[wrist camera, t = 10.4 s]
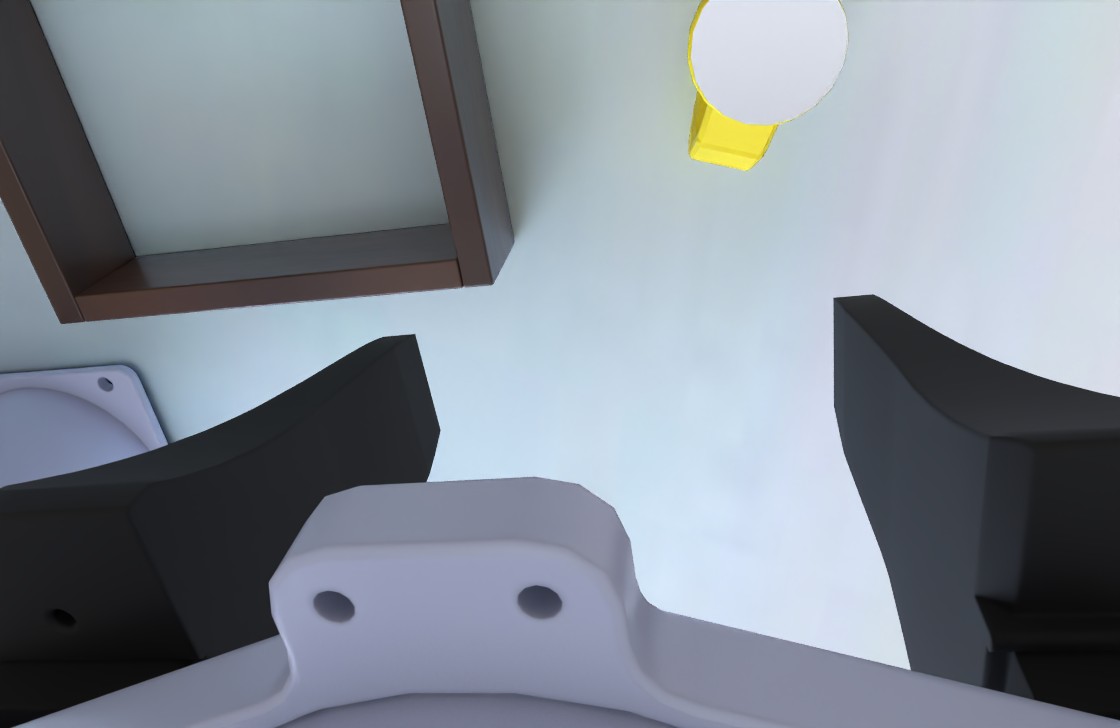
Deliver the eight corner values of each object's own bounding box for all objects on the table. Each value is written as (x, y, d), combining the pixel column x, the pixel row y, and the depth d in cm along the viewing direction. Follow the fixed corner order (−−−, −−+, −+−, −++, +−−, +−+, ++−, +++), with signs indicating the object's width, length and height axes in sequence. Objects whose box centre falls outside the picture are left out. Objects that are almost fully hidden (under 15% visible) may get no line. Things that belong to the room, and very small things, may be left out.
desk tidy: (123, 282, 26) (60, 325, 23) (-42, -104, 21) (-146, -105, 18) (515, 243, 23) (493, 286, 21) (432, -203, 19) (390, -220, 16)
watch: (726, -155, 18) (741, -179, 13) (850, -129, 18) (916, -144, 13) (661, 117, 21) (652, 185, 16) (767, 140, 21) (794, 216, 16)
